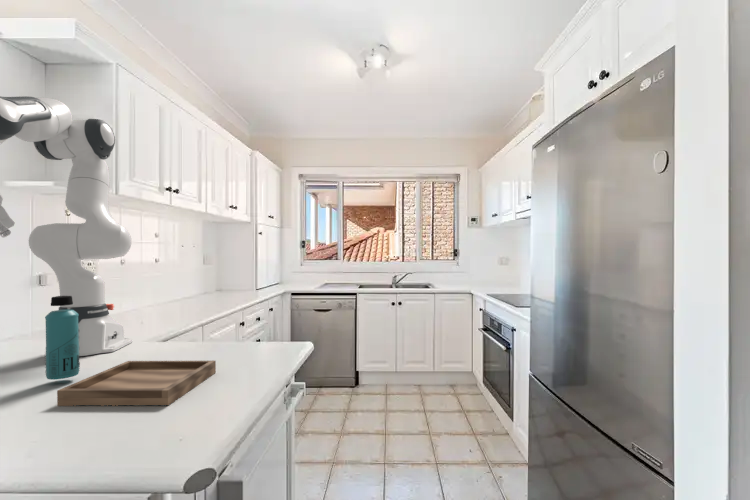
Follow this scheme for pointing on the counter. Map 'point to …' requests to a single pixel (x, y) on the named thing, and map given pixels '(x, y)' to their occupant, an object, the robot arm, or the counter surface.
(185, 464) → the counter surface
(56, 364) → the beverage bottle
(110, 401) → the walnut tray
